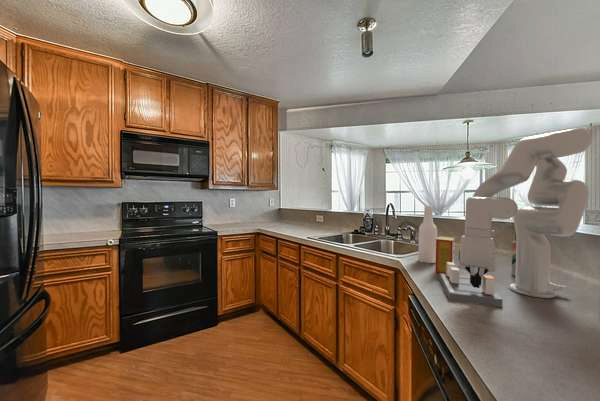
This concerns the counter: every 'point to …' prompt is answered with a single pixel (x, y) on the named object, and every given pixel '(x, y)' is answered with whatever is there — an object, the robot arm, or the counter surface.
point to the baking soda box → (444, 253)
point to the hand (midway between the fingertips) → (475, 286)
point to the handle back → (449, 264)
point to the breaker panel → (468, 292)
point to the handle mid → (454, 275)
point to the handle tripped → (488, 284)
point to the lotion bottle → (514, 257)
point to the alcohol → (427, 237)
